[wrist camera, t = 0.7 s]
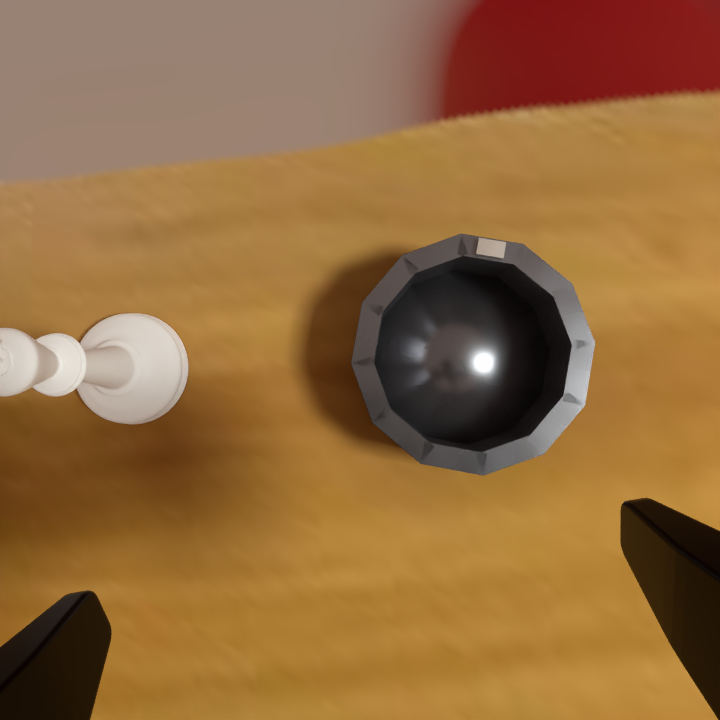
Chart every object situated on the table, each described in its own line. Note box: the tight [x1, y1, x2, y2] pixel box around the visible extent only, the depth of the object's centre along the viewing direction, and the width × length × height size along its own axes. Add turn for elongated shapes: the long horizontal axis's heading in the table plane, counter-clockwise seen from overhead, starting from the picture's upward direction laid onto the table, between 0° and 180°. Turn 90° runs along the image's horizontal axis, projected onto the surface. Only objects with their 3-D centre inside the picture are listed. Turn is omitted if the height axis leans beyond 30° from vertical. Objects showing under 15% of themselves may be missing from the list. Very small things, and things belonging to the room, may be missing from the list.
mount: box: [351, 234, 595, 475], centre depth 21 cm, size 9×9×4 cm
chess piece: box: [0, 313, 188, 424], centre depth 18 cm, size 5×5×10 cm
